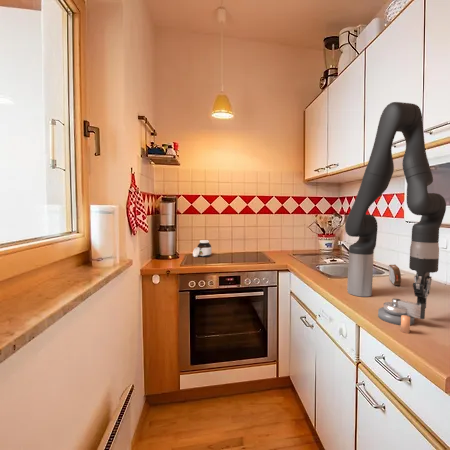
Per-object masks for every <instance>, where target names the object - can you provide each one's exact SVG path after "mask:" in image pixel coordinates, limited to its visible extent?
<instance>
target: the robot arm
mask: <svg viewBox="0 0 450 450" xmlns="http://www.w3.org/2000/svg"><path fill="white" fill-rule="evenodd" d="M422 113H423V112H422V110H421V108H420V106H418V105H417V104H415V103H410V102H400V101H394V102H390V103H389V104H387V105H386V106H385V107H384V108H383V110H382V112H381V115H380V118H379V121H378V126H377V129H376V133H375V139H374V141H373V146H372V150H371V153H370V156H369V159H368V163H367V165H366V168H365V170H364V173H363V176H362V179H361V183H360V186H359V189H358V192H357V194H356V197H355V200H354V202H353V204H352V206H351V208H350V211H349V213H348V215H347V218H346V220H345V225H344V227H345V228H344V229H345V233H346V234H347V235H348V236H349V237H352V238H353V237H355V238H357V237H358V239H357V241H356V242H354V243H352V244H350V245H349V247H348V265H347V266H348V268H347V286H346V287H347V293H348V294H350V295H353V296H355V297H371V296H373V276H374V251H375V249H376V246H377V240H378V239H377V236H378V221H377V218H376V217H375V216H374V215H372V214H367V213H368V211H369V209H370V207H371V206H372V204H374V202H375V201H376V200H377V199H379V198H380V197H381V196H382V194H384V192H385V191H386V190H387V188H388V187H389V184H390V182H391V180H392V177H393V175H394V172H395V171H394V170H395V165H394V164H395V163H394V157H393V153H392V146H393V142H394V139H395V136H396V133H397V132H399V133H401V134H402V135H403V138H404V140H405V149H404V150H405V151H404V153H403V158H402V169H403V174H404V178H405V182H406V205H407V208H408V210H409V211H410V213H412V214H414V215H416V216H421V217H420V220H419V222H416V223H414V224H413V225H412V228H411V241H410V247H409V264H408V265H409V266H408V267H409V269H410V271H411V270H412V271H415V272H416V275H414V276H413V281H414V282H413V283H412V286H413V287H412V288H413V292H414V297H416V298H417V299H416V303H425V310H426V309H427V299H428V296H429V294H430V290H431V284H432V281H433V278H432V276H431V274H432V273H433V274H434V273H437V272H438V271H439V264H440V263H439V260H440V247H439V241H440V239H439V238H440V228H441V226H442V223H443V220H444V216H445V214H446V210H447V201H446V199H445V198H444V196H443V195H441V194H440V193H436V192H428V187H429V186H430V185H431V184H432V183H433V182H434V176H433V173H432V170H431V167H430V164H429V159H428V155H427V151H426V144H425V143H426V142H425V133H424V132H425V131H424V122H423V114H422Z"/></svg>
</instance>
